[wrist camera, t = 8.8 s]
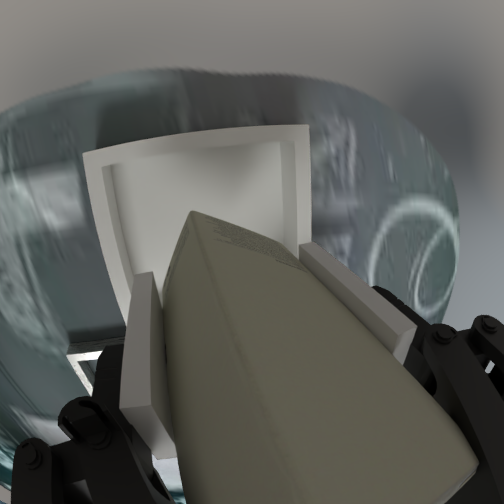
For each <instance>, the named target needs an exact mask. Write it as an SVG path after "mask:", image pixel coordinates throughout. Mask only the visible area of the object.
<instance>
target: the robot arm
mask: <svg viewBox="0 0 504 504" xmlns="http://www.w3.org/2000/svg"><path fill="white" fill-rule="evenodd" d="M299 261H300V262H301V263H302V264H303V265H304V266H305V267H306V268H307V269H308V270H309V271H310V272H311V273H312V274H313V275H314V276H315V277H316V278H317V279H318V280H319V281H320V282H321V283H322V284H323V285H324V286H325V287H326V288H327V289H328V290H329V291H330V292H331V293H333V294H334V295H335V296H336V297H337V298H338V299H339V300H340V301H341V302H342V303H343V304H344V305H345V306H346V307H347V308H348V309H349V310H350V311H351V312H352V313H353V314H354V315H355V316H356V317H357V318H358V320H359V321H360V322H361V323H362V324H363V325H364V326H365V327H366V328H367V329H368V330H369V331H370V332H371V333H372V334H373V335H374V336H375V337H376V338H377V339H378V340H379V341H380V342H381V343H382V344H383V345H384V346H385V347H386V348H387V350H388V351H389V352H390V353H391V354H392V355H393V356H394V357H395V358H396V359H397V360H398V361H399V362H400V363H401V364H402V365H403V366H404V367H405V369H406V370H407V371H408V372H409V373H410V374H411V375H412V376H413V377H414V378H415V379H416V380H417V381H418V382H419V383H420V384H421V385H422V387H423V388H424V389H425V390H426V391H427V392H428V393H429V394H430V395H431V396H432V397H433V398H434V399H435V400H436V402H437V403H438V404H439V405H440V406H441V407H442V408H443V409H444V410H445V412H446V413H447V414H448V415H449V416H450V417H451V418H452V419H453V421H454V422H455V423H456V424H457V425H458V427H459V428H460V429H461V431H462V433H463V434H464V436H465V438H466V439H467V441H468V443H469V444H470V446H471V448H472V450H473V451H474V453H475V455H476V457H477V459H478V461H479V465H478V466H477V469H476V473H475V474H474V475H473V476H472V477H471V478H470V479H469V480H468V481H467V482H466V483H465V484H464V485H463V486H462V487H461V488H460V489H459V490H458V491H457V492H456V493H455V494H454V495H453V496H452V497H451V498H450V499H449V500H448V501H447V502H446V503H444V504H504V325H503V324H502V323H501V322H500V321H498V320H497V319H495V318H494V317H491V316H489V315H480V316H477V317H476V318H475V319H474V322H473V324H472V327H471V329H466V330H462V331H456V330H455V329H454V328H453V327H450V326H449V325H446V324H433V325H430V324H429V323H428V322H426V321H425V320H424V319H423V318H422V317H420V316H419V315H418V314H417V313H416V312H414V311H413V310H412V309H411V308H409V307H408V306H407V305H404V303H403V302H402V301H401V300H400V299H397V297H396V296H395V295H393V294H392V293H391V292H390V291H388V290H386V289H384V288H381V287H379V286H373V287H370V286H369V285H368V284H367V283H365V282H364V281H363V280H362V279H361V278H359V277H358V276H357V275H356V274H354V273H353V272H352V271H351V270H349V269H348V268H347V267H346V266H344V265H343V264H342V263H341V262H339V261H338V260H337V259H336V258H334V257H333V256H332V255H330V254H329V253H328V252H327V251H325V250H324V249H323V248H321V247H320V246H319V245H318V244H316V243H315V242H310V243H304V244H299ZM490 360H491V361H492V362H493V363H494V364H495V365H494V367H493V369H492V370H491V372H490V373H486V372H485V369H486V367H487V366H488V364H489V362H490ZM94 379H95V381H94V384H93V391H92V397H90V396H83V397H78V398H76V399H74V400H72V401H70V402H68V403H67V404H66V405H65V406H64V407H63V408H62V410H61V412H60V414H59V416H58V426H59V427H60V428H61V430H62V431H63V432H64V433H65V434H66V435H67V436H68V437H69V438H70V439H71V440H70V441H67V442H64V443H60V444H57V445H53V446H49V445H48V444H47V443H45V442H44V441H43V440H41V439H38V438H29V439H26V440H25V441H23V442H21V443H20V445H19V446H18V447H17V449H16V451H15V455H14V461H13V471H12V485H11V504H176V503H175V502H174V500H173V498H172V497H171V495H170V493H169V491H168V490H167V488H166V486H165V484H164V483H163V481H162V479H161V477H160V475H159V473H158V472H157V470H156V469H155V468H154V467H153V463H152V454H153V455H154V456H155V458H156V459H157V460H159V459H168V458H176V457H177V453H176V447H175V441H174V434H173V427H172V419H171V411H170V403H169V395H168V385H167V372H166V360H165V343H164V327H163V309H162V305H161V302H160V298H159V294H158V290H157V286H156V282H155V278H154V274H153V271H151V272H145V273H140V274H135V276H134V282H133V288H132V293H131V300H130V306H129V313H128V320H127V327H126V335H125V343H123V344H116V345H109V346H105V348H104V349H103V351H102V352H101V354H100V355H99V357H98V361H97V366H96V372H95V378H94ZM0 504H6V503H4V502H2V501H0Z"/></svg>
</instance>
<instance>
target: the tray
mask: <svg viewBox="0 0 504 504" xmlns="http://www.w3.org/2000/svg"><path fill="white" fill-rule="evenodd" d="M82 154H83V161H84V168H85V174H86V180H87V186H88V191H89V196H90V201H91V206H92V211H93V216H94V220H95V224H96V229H97V233H98V237H99V241H100V245H101V248H102V252H103V256H104V259H105V263H106V266H107V270H108V273H109V276H110V280H111V283H112V286H113V289H114V292H115V295H116V298H117V301H118V304H119V307H120V310H121V313H122V316H123V318H124V321H125V324H126V326H127V320H128V313H129V306H130V300H131V293H132V288H133V282H134V276H135V274H140V273H145V272H151V271H153V274H154V278H155V282H156V286H157V290H158V294H159V298H160V302H161V305H162V309H163V301H162V287H163V283H164V280H165V277H166V273H167V270H168V267H169V264H170V261H171V258H172V255H173V252H174V249H175V247H176V244H177V241H178V238H179V236H180V233H181V231H182V228H183V226H184V223H185V221H186V219H187V216H188V214H189V212H190V211H192V210H193V211H197V212H200V213H203V214H206V215H209V216H212V217H215V218H218V219H221V220H224V221H227V222H229V223H232V224H235V225H238V226H240V227H243V228H246V229H248V230H251V231H254V232H256V233H259V234H261V235H264V236H266V237H269V238H271V239H273V240H276V241H278V242H280V243H282V244H283V245H284V246H285V247H286V248H287V249H288V250H289V251H290V252H291V253H292V254H293V255H294V256H295V257H296V258H297V259H298V260H299V244H304V243H310V242H311V164H310V138H309V125H268V126H250V127H236V128H224V129H214V130H205V131H196V132H189V133H181V134H174V135H168V136H162V137H156V138H150V139H144V140H139V141H134V142H129V143H124V144H119V145H115V146H110V147H106V148H102V149H97V150H93V151H89V152H86V153H82Z"/></svg>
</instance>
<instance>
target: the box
mask: <svg viewBox="0 0 504 504" xmlns="http://www.w3.org/2000/svg"><path fill="white" fill-rule="evenodd" d="M162 301H163V327H164V343H165V360H166V372H167V385H168V395H169V403H170V411H171V419H172V427H173V434H174V441H175V447H176V453H177V459H178V465H179V471H180V476H181V482H182V486H183V491H184V496H185V500H186V504H444V503H446V502H447V501H448V500H449V499H450V498H451V497H452V496H453V495H454V494H455V493H456V492H457V491H458V490H459V489H460V488H461V487H462V486H463V485H464V484H465V483H466V482H467V481H468V480H469V479H470V478H471V477H472V476H473V475H474V474H475V473H476V469H477V466H478V465H479V461H478V459H477V457H476V455H475V453H474V451H473V450H472V448H471V446H470V444H469V443H468V441H467V439H466V438H465V436H464V434H463V433H462V431H461V429H460V428H459V427H458V425H457V424H456V423H455V422H454V421H453V419H452V418H451V417H450V416H449V415H448V414H447V413H446V412H445V410H444V409H443V408H442V407H441V406H440V405H439V404H438V403H437V402H436V400H435V399H434V398H433V397H432V396H431V395H430V394H429V393H428V392H427V391H426V390H425V389H424V388H423V387H422V385H421V384H420V383H419V382H418V381H417V380H416V379H415V378H414V377H413V376H412V375H411V374H410V373H409V372H408V371H407V370H406V369H405V367H404V366H403V365H402V364H401V363H400V362H399V361H398V360H397V359H396V358H395V357H394V356H393V355H392V354H391V353H390V352H389V351H388V350H387V348H386V347H385V346H384V345H383V344H382V343H381V342H380V341H379V340H378V339H377V338H376V337H375V336H374V335H373V334H372V333H371V332H370V331H369V330H368V329H367V328H366V327H365V326H364V325H363V324H362V323H361V322H360V321H359V320H358V318H357V317H356V316H355V315H354V314H353V313H352V312H351V311H350V310H349V309H348V308H347V307H346V306H345V305H344V304H343V303H342V302H341V301H340V300H339V299H338V298H337V297H336V296H335V295H334V294H333V293H331V292H330V291H329V290H328V289H327V288H326V287H325V286H324V285H323V284H322V283H321V282H320V281H319V280H318V279H317V278H316V277H315V276H314V275H313V274H312V273H311V272H310V271H309V270H308V269H307V268H306V267H305V266H304V265H303V264H302V263H301V262H300V261H299V260H298V259H297V258H296V257H295V256H294V255H293V254H292V253H291V252H290V251H289V250H288V249H287V248H286V247H285V246H284V245H283V244H282V243H280V242H278V241H276V240H273V239H271V238H269V237H266V236H264V235H261V234H259V233H256V232H254V231H251V230H248V229H246V228H243V227H240V226H238V225H235V224H232V223H229V222H227V221H224V220H221V219H218V218H215V217H212V216H209V215H206V214H203V213H200V212H197V211H193V210H192V211H190V212H189V214H188V216H187V219H186V221H185V223H184V226H183V228H182V231H181V233H180V236H179V238H178V241H177V244H176V247H175V249H174V252H173V255H172V258H171V261H170V264H169V267H168V270H167V273H166V277H165V280H164V283H163V287H162Z"/></svg>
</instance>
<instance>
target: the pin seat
mask: <svg viewBox="0 0 504 504" xmlns="http://www.w3.org/2000/svg"><path fill="white" fill-rule="evenodd" d="M123 343H125V336H124V337H117V338H110V339H103V340H95V341H88V342H80V343H71V344H69V347H68V350H67V354H66V356H67V358H68V360H69V361H70V363H71V365H72V366H73V368H74V370H75V372H76V373H77V375H78V376H79V378H80V380H81V381H82V383H83V384H84V386H85V388H86V389H87V391H88V392H89V394H90V395H91V397H92V391H93V384H94V381H95V379H94V378H95V376H94V374H93V372H92V370H91V369H90V367H89V365H88V363H87V361H86V360H92V359H98V357H99V355H100V354H101V352H102V351H103V349H104V348H105V346H109V345H116V344H123Z"/></svg>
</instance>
